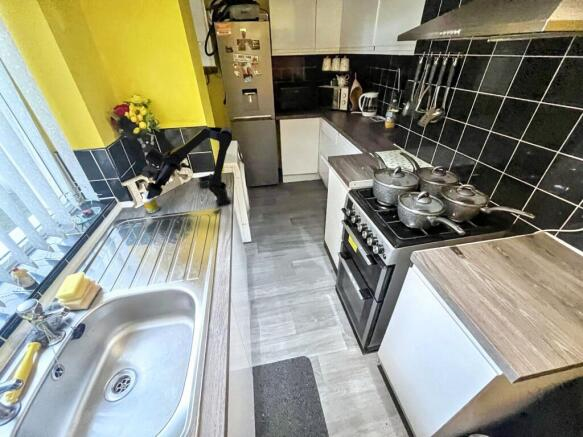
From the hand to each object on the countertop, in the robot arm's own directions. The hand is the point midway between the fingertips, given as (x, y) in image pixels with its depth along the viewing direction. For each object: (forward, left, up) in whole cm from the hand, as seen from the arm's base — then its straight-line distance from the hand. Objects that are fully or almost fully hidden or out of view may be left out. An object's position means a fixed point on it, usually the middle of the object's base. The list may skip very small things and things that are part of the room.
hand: (150, 194), depth 121 cm
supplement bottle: (+1, +2, -9) cm, 10 cm away
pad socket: (+16, -29, -9) cm, 34 cm away
